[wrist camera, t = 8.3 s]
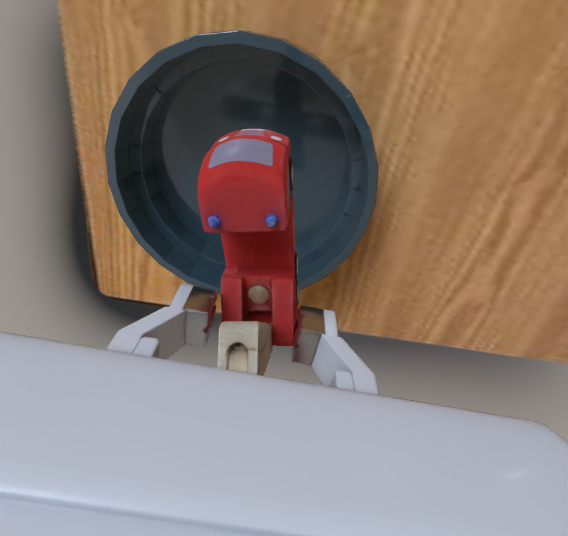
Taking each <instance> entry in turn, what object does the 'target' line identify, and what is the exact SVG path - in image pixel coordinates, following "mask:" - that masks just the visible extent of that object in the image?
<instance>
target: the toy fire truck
mask: <svg viewBox="0 0 568 536" xmlns="http://www.w3.org/2000/svg"><path fill="white" fill-rule="evenodd" d="M290 151H291V143H290V139H289V137H288V136H285V135H283V134H280V133H277V132H274V131H270V130H263V129H243V130H238V131H234V132H231V133H228V134H226V135H224V136H223V137H221V138H219V139H218V140H217V141H216V142H215V143H214V145H213V146H212V147H211V149H210V151H209V152H207V154H206V155H205V157H204V159H203V163H202V165H201V169H200V172H199V178H198V204H199V208H200V214H201V218H202V224H203V228H204V231H205V232H208V233H221V238H222V244H223V248H224V249H223V250H224V255H225V260H226V268H225V271H224V273H223V276H222V278H221V306H222V323H221V325H220V329H219V344H218V366H217V368H221V369H227V370H233V371H239V372H245V373H251V374H257V375H264V372H265V370H266V367H267V364H268V361H269V359H270V355H271V352H272V346H273V345H277V346H292V345H293V344H294V343H293V337H294V326H295V322H296V320H297V319H298V303H299V284H298V280H297V276H298V254H297V252H296V251H295V246H296V244H295V221H294V216H295V214H294V205H293V204H294V200H293V194H292V193H291V191H293V181H294V172H293V160H292V158H291V157H290Z"/></svg>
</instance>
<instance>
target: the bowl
mask: <svg viewBox="0 0 568 536" xmlns="http://www.w3.org/2000/svg"><path fill="white" fill-rule="evenodd" d="M243 129H263V130H270V131H274V132H277V133H280V134H283V135H285V136H288V137H289V139H290V143H291V151H290V157H291V158H292V160H293V172H294V181H293V191H291V193H292V194H293V200H294V204H293V205H294V214H295V216H294V221H295V244H296V246H295V251H296V252H297V254H298V276H297V280H298V284H299V290H301V289H303V288H305V287H307V286H309V285H311V284H313V283H314V282H316V281H318V280H320V279H322V278H324V277H326V276H327V275H328V274H329V273H330V272H331V271H333V270H334V269H335V268H336V267H337V266H338V265H340V264H341V263H342V262H343V261H344V260H345V259H346V258H347V257H348V256H349V255H350V253H351V252H352V250H353V249H354V247H355V246H356V245H357V243H358V242H359V240H360V239H361V237H362V236H363V234H364V233H365V231H366V228H367V225H368V222H369V220H370V217H371V214H372V211H373V208H374V205H375V203H376V202H375V201H376V193H377V178H378V163H377V158H376V153H375V148H374V144H373V139H372V134H371V130H370V127H369V125H368V124H367V122H366V120H365V118H364V116H363V114H362V112H361V110H360V108H359V106H358V105H357V103H356V101H355V99H354V97H353V95H352V93H351V92H350V91H349V90H348V88H347V87H346V86H345V85H344V84H343V83H342V81H341V80H340V79H339V78H338V77H337V76H336V75H335V74H334V73H333V72H332V71H331V70H330V69H329V68H328V67H327V66H326V65H325V64H324V63H323V62H322V61H321V60H320V59H319V58H318V57H316V56H315V55H313V54H311V53H309V52H308V51H306V50H304V49H302V48H301V47H299V46H297V45H295V44H294V43H292V42H290V41H288V40H286V39H282V38H278V37H273V36H269V35H264V34H260V33H255V32H251V31H242V30H236V31H225V32H215V33H204V34H197V35H193V36H191V37H189V38H187V39H184V40H182V41H180V42H178V43H176V44H173V45H171V46H169V47H167V48H164V49H162V50H160V51H159V52H157V53H156V54H155V55H154V56H153V57H152V58H151V59H150V60H148V61H147V62H146V63H145V64H144V65H143V66H142V67H141V68H140V69H139V70H138V71H137V72H136V73H135V74H134V75H133V76H132V77H130V79H129V80H128V82H127V84H126V86H125V88H124V90H123V91H122V93H121V95H120V97H119V99H118V101H117V103H116V105H115V106H114V108H113V110H112V113H111V118H110V124H109V129H108V135H107V140H106V145H105V153H106V163H107V174H108V183H109V186H110V189H111V192H112V194H113V197H114V200H115V203H116V205H117V208H118V211H119V214H120V216H121V217H122V219H123V220H124V222H125V223H126V225H127V227H128V228H129V230H130V231H131V233H132V234H133V236H134V237H135V239H136V240H137V242H138V243H139V244H140V245H141V246H142V247H143V248H144V249H145V250H146V251H147V252H148V253H149V254H150V255H151V256H152V257H153V258H154V259H155V260H156V261H157V262H158V263H159V264H160V265H161V266H163V267H164V268H166V269H167V270H169V271H170V272H172V273H173V274H175V275H177V276H178V277H180V278H181V279H183V280H184V281H186V282H188V283H190V284H193V285H195V286H198V287H203V288H208V289H213V290H217V292H218V293H217V294H221V278H222V276H223V273H224V271H225V268H226V260H225V255H224V250H223V249H224V248H223V244H222V238H221V233H208V232H205V231H204V228H203V224H202V218H201V214H200V208H199V204H198V178H199V172H200V169H201V165H202V163H203V159H204V157H205V155H206V154H207V152H209V151H210V149H211V147H212V146H213V145H214V143H215V142H216V141H217V140H218V139H219V138H221V137H223V136H224V135H226V134H228V133H231V132H234V131H238V130H243Z"/></svg>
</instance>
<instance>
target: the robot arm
mask: <svg viewBox="0 0 568 536" xmlns="http://www.w3.org/2000/svg"><path fill="white" fill-rule="evenodd" d="M217 293H218V292H217V290H213V289H208V288H203V287H198V286H193V285H188V284H181V285H180V287H179V289H178V291H177V293H176V294H175V296H174V298H173V300H172V302H171V304H170V306H169V307H164V308H162V309H160V310H158V311H156V312H154V313H152V314H151V315H148V316H146V317H144V318H142V319H140V320H138V321H137V322H135V323H132V324H131V325H128V326H127V327H125V328H123V329H121V330H119V331H118V332H117V334H116V335H115V336H114V338H113V340H112V341H111V342H110V344H109V345H108V347H107V349H102V348H96V347H90V346H84V345H78V344H72V343H66V342H60V341H54V340H49V339H43V338H36V337H31V336H25V335H19V334H13V333H7V332H1V331H0V536H568V442H567V441H566V440H565V439H564V438H563V437H561V436H560V435H559V434H558V433H556V432H555V431H553V430H552V429H551V428H549V427H548V426H546V425H545V424H542V423H540V422H536V421H532V420H526V419H520V418H514V417H507V416H501V415H496V414H490V413H484V412H478V411H472V410H465V409H460V408H454V407H448V406H442V405H436V404H430V403H424V402H418V401H412V400H406V399H400V398H394V397H388V396H382V395H379V392H378V387H377V382H376V377H375V374H374V373H373V372H372V371H371V370H370V369H369V368H368V367H367V365H366V364H365V363H364V362H363V361H362V360H361V359H360V358H359V357H358V356H357V354H356V353H355V352H354V351H353V350H352V349H351V348H350V347H349V345H348V344H347V343H346V342H345V341H344V340H343V339H342V338H341V337H338V330H337V321H336V312H335V311H333V310H326V309H318V308H312V307H307V306H301V305H300V308H299V311H298V319H297V320H296V322H295V326H294V337H293V343H294V344H293V348H292V362H296V363H301V364H307V365H311V367H312V369H313V370H314V372H315V374H316V375H317V377H318V379H319V380H320V382H321V384H322V385H317V384H311V383H305V382H299V381H293V380H287V379H280V378H275V377H269V376H263V375H257V374H251V373H245V372H239V371H233V370H227V369H221V368H215V367H209V366H203V365H197V364H191V363H185V362H180V361H173V360H167V359H168V358H169V357H170V356H171V355H173V354H174V353H175V352H176V351H178V350H179V349H180V348H181V347H183V346H184V345H185V344H189V345H196V346H203V347H205V346H206V343H207V340H208V337H209V332H210V329H211V328H212V325H213V322H214V318H215V312H216V305H215V303H216V300H217Z"/></svg>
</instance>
